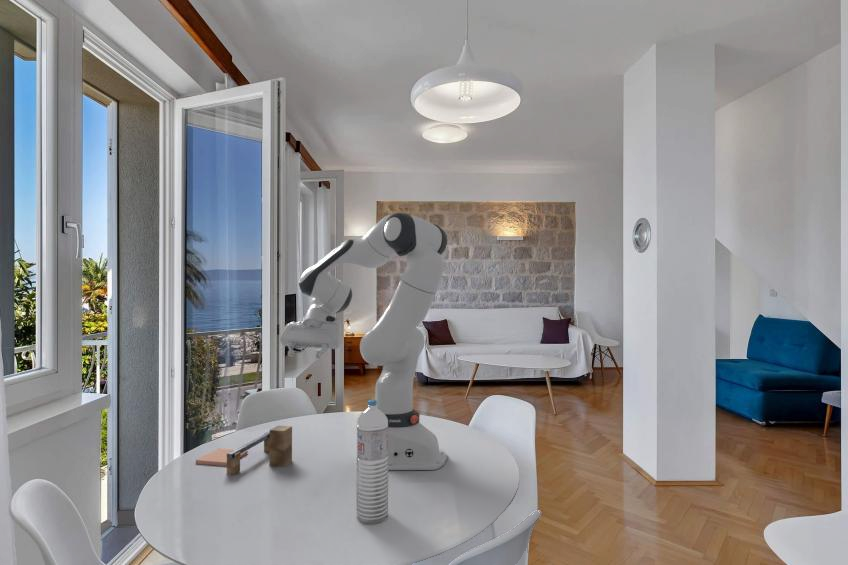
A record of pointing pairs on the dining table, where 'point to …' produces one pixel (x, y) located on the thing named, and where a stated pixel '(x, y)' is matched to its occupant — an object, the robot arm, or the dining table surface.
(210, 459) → the coaster
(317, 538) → the dining table surface
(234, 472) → the hurdle posts
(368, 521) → the water bottle
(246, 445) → the metal bar
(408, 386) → the robot arm
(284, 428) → the walnut block
